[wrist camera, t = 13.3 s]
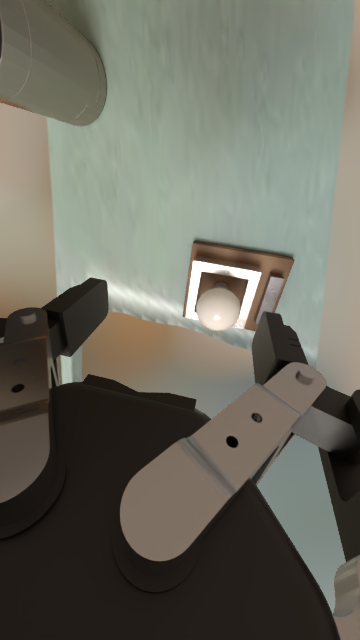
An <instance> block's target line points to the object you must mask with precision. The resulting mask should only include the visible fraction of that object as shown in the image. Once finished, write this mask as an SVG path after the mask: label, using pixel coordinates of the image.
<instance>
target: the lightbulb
mask: <svg viewBox="0 0 360 640" xmlns="http://www.w3.org/2000/svg"><path fill="white" fill-rule="evenodd" d="M196 312H197V316H198V319H199V321H200V322H201V323H202V324H203V325H204V326H205V327H206V328H208V329H210V330H214V331H222V330H226V329H228V328H230V327H231V326H233V325H234V324H235V323H236V321H237V320H238V318H239V315H240V303H239V300H238V298H237V297H236V295H235V294H234V293H233V292H231V291H230V290H229V288H228V286H227V284H225V283H223V282H218V283H216V284H215V285H214V286H213V288H211V289H209V290H207V291H206V292H204V293H203V294H202V295H201V296H200V298H199V300H198V302H197V306H196Z"/></svg>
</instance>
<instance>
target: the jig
mask: <svg viewBox="0 0 360 640" xmlns="http://www.w3.org/2000/svg"><path fill="white" fill-rule="evenodd" d="M293 263H294V259H293V258H292V257H286V256H280V255H274V254H268V253H262V252H256V251H250V250H244V249H238V248H232V247H226V246H220V245H214V244H208V243H202V242H196V241H194V242H193V246H192V253H191V261H190V268H189V275H188V282H187V289H186V296H185V303H184V311H183V317H186V318H191V319H196V320H199V319H198V316H197V312H196V306H197V302H198V300H199V298H200V296H201V295H202V294H203V293H204V292H206V291H207V290H209V289H211V288H213V286H214V285H215V284H216V283H218V282H223V283H225V284H227V286H228V288H229V290H230V291H231V292H233V293H234V294H235V295H236V297H237V298H238V300H239V303H240V315H239V318H238V320H237V321H236V323H235V324H234V325H233V326H231V327H236V328H241V329H248V330H253V331H256V329H257V327H258V324H259V321H260V318H261V315H262V313H263V312H264V311H267V312H272V313H274V312H275V310H276V307H277V305H278V302H279V299H280V297H281V294H282V291H283V289H284V286H285V284H286V281H287V278H288V276H289V273H290V270H291V268H292V265H293Z"/></svg>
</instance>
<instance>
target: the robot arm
mask: <svg viewBox="0 0 360 640" xmlns="http://www.w3.org/2000/svg"><path fill="white" fill-rule="evenodd" d="M106 86H107V85H106V76H105V72H104V68H103V64H102V62H101V60H100V57H99V55H98V53H97V52H96V50H95V49H94V47H93V46H92V45H91V43H90V42H89V41H88V40H87V39H86V38H85V37H84V36H83V35H81V34H80V33H79V32H78V31H77V30H76V29H75V28H74V27H73V26H72V25H70V23H68V22H67V21H66V20H65V19H64V18H63V17H62V16H61V15H60V14H58V13H57V12H56V11H55V10H54V9H53V8H52V7H51V6H50V5H49V4H47V3H46V2H45V1H44V0H0V102H1V103H4V104H7V105H10V106H14V107H17V108H21V109H24V110H27V111H30V112H33V113H37V114H40V115H43V116H47V117H50V118H53V119H56V120H59V121H62V122H66V123H69V124H72V125H77V126H84V125H88V124H90V123H92V122H93V121H95V120H96V119H97V118H98V116H99V115H100V113H101V112H102V109H103V107H104V104H105V99H106ZM107 313H108V289H107V282H106V281H105V280H101V279H96V278H89V279H88V280H86V281H85V282H83V283H82V284H81V285H77V286H74V287H72V288H69V289H68V290H66V291H65V292H64V293H63V294H61V295H59V296H58V298H57V297H56V298H55V299H53V300H52V301H51V302H49V303H48V304H47V305H45V306H43V307H42V308H24V309H20V310H17V311H15V312H13V313H11V314H10V315H9V316H8V318H0V640H360V390H356V391H355V392H354V393H353V394H352V396H351V397H350V396H348V395H345V394H343V393H341V392H338V391H335V390H334V389H331V388H329V387H328V386H326V380H325V378H324V377H323V376H322V374H321V373H319V372H318V371H317V370H316V369H314V368H313V367H311V366H309V365H308V362H307V360H306V357H305V355H304V352H303V349H302V348H301V344H300V342H299V339H298V336H297V334H296V332H295V331H294V330H293V329H292V328H291V327H290V326H286V325H284V324H283V321H282V318H281V315H280V314H277V313H272V312H267V311H264V312H263V313H262V315H261V318H260V321H259V324H258V327H257V329H256V332H255V335H254V338H253V343H252V355H253V365H254V374H255V384H254V385H253V386H252V387H251V388H249V389H248V390H247V391H246V392H245V393H243V394H242V395H241V396H240V397H238V398H237V399H236V400H235V401H233V402H232V403H231V404H230V405H228V406H227V407H226V408H225V409H224V410H222V411H221V412H220V413H219V414H217V415H216V416H215V417H214V418H212V419H211V418H209V417H208V416H207V415H206V414H204V413H203V412H201V411H199V410H197V409H195V404H196V399H192V398H188V397H184V396H179V395H175V394H171V393H145V392H137V391H135V390H133V389H131V388H129V387H127V386H125V385H123V384H121V383H119V382H117V381H115V380H111V379H107V378H103V377H99V376H94V375H90V374H88V375H87V377H86V378H85V379H84V381H83V382H73V383H67V384H63V385H60V380H59V370H58V361H57V357H58V356H59V355H64V356H68V357H71V356H72V355H73V354H74V353H75V351H76V350H77V349H78V348H79V347H80V346H81V345H82V344H83V343H84V341H85V340H86V339H87V338H88V337H89V336H90V335H91V334H92V332H93V331H94V330H95V329H96V328H97V327H98V326H99V324H100V323H101V322H102V321H103V320H104V319H105V317H106V316H107ZM295 435H297V436H300V437H301V438H303V439H305V440H307V441H309V442H311V443H313V444H315V445H316V446H318V448H319V452H320V456H321V461H322V465H323V469H324V473H325V477H326V481H327V485H328V489H329V493H330V498H331V502H332V505H333V510H334V514H335V518H336V522H337V526H338V531H339V535H340V539H341V543H342V547H343V551H344V555H345V559H346V563H344V564H343V565H341V566H340V567H339V568H338V569H337V571H336V574H335V579H334V587H335V608H334V613H333V615H332V612H331V610H330V607H329V605H328V603H327V601H326V598H325V596H324V594H323V592H322V591H321V589H320V587H319V585H318V583H317V582H316V580H315V579H314V577H313V575H312V573H311V572H310V570H309V569H308V567H307V565H306V564H305V562H304V561H303V559H302V558H301V556H300V554H299V553H298V551H297V550H296V548H295V546H294V545H293V543H292V542H291V540H290V538H289V537H288V535H287V534H286V532H285V530H284V529H283V527H282V526H281V524H280V522H279V521H278V519H277V518H276V516H275V514H274V513H273V511H272V510H271V508H270V506H269V505H268V503H267V502H266V500H265V499H264V497H263V495H262V494H261V492H260V491H259V489H258V487H257V484H258V483H259V482H260V481H261V479H262V478H263V476H264V475H265V473H266V472H267V471H268V469H269V468H270V466H271V465H272V464H273V462H274V461H275V460H276V459H277V457H278V456H279V455H280V453H281V452H282V451H283V450H284V448H285V447H286V446H287V444H288V443H289V442H290V441H291V439H292V438H293V437H294V436H295Z"/></svg>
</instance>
